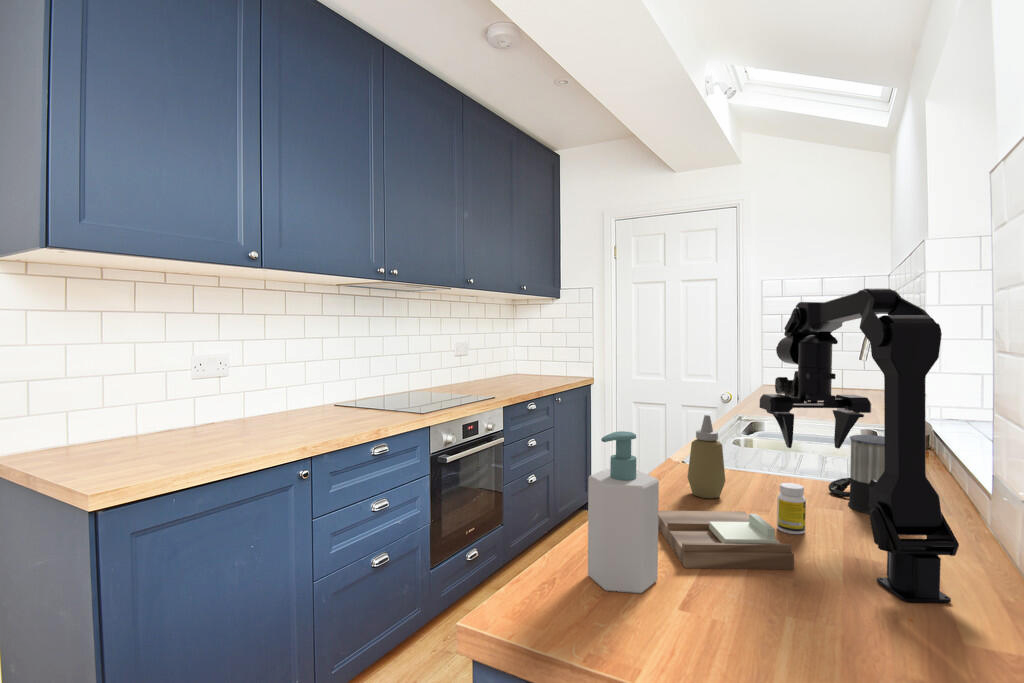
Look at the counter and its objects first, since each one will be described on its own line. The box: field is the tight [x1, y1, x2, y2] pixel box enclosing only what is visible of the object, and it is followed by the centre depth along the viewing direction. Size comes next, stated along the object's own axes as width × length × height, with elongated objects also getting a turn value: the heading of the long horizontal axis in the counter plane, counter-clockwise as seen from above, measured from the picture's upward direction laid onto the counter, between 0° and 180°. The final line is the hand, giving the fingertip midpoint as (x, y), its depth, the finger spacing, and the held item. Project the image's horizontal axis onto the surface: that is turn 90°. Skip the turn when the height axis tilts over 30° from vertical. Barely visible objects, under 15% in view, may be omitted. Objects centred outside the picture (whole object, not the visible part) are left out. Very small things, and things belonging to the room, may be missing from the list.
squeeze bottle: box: [687, 414, 726, 499], centre depth 126 cm, size 8×8×18 cm
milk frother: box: [827, 434, 885, 514], centre depth 121 cm, size 14×16×15 cm
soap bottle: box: [587, 430, 660, 594], centre depth 84 cm, size 10×9×22 cm
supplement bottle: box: [776, 482, 807, 535], centre depth 105 cm, size 5×5×8 cm
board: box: [658, 510, 795, 570], centre depth 98 cm, size 20×17×3 cm
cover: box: [709, 513, 777, 544], centre depth 94 cm, size 8×8×3 cm
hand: (813, 447), depth 108 cm, fingers open, 9 cm apart
